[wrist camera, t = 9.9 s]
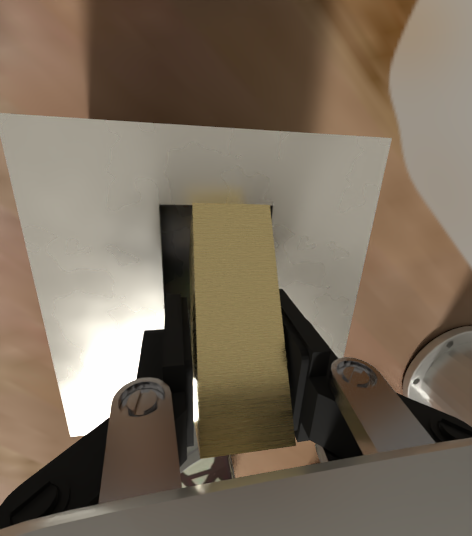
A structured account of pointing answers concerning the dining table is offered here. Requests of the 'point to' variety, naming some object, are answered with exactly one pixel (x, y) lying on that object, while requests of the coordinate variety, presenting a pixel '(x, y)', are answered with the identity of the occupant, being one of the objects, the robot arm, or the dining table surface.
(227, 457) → the half-round slice
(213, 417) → the beige rectangular block
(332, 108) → the dining table surface
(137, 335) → the box
